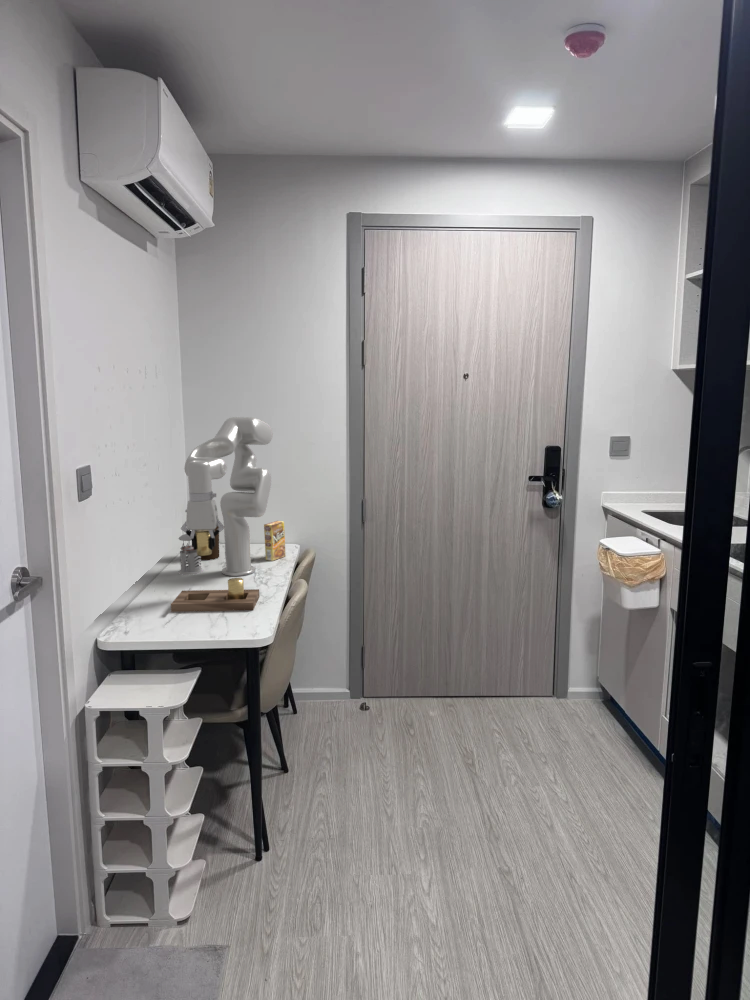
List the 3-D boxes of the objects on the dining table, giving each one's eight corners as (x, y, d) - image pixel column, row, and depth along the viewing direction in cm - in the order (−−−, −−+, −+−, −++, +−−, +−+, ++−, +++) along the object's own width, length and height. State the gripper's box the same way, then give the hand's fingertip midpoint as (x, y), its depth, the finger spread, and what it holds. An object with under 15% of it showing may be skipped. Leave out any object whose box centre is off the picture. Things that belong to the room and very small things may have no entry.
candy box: (273, 561, 271) (271, 525, 269) (264, 560, 274) (263, 524, 271) (286, 556, 279) (284, 521, 276) (278, 555, 281) (276, 520, 278)
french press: (207, 568, 262) (204, 506, 258) (197, 576, 251) (193, 512, 246) (184, 567, 263) (180, 506, 259) (172, 576, 252) (168, 512, 247)
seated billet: (230, 601, 218) (229, 577, 217) (245, 600, 218) (244, 577, 217) (227, 606, 213) (226, 582, 212) (243, 605, 214) (242, 582, 212)
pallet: (182, 600, 222) (182, 590, 222) (259, 599, 223) (259, 589, 223) (171, 614, 209) (170, 604, 208) (253, 613, 209) (253, 602, 209)
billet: (198, 552, 229) (197, 529, 227) (213, 551, 229) (211, 529, 227) (195, 555, 224) (193, 533, 222) (210, 555, 224) (208, 532, 222)
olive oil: (225, 555, 282) (222, 498, 278) (212, 561, 272) (209, 502, 268) (203, 553, 285) (200, 497, 281) (190, 559, 275) (186, 501, 271)
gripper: (228, 494, 227) (230, 545, 230) (178, 495, 226) (181, 546, 229) (223, 498, 219) (226, 551, 223) (172, 499, 219) (176, 552, 222)
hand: (203, 548), depth 226 cm, fingers closed on billet, 5 cm apart
